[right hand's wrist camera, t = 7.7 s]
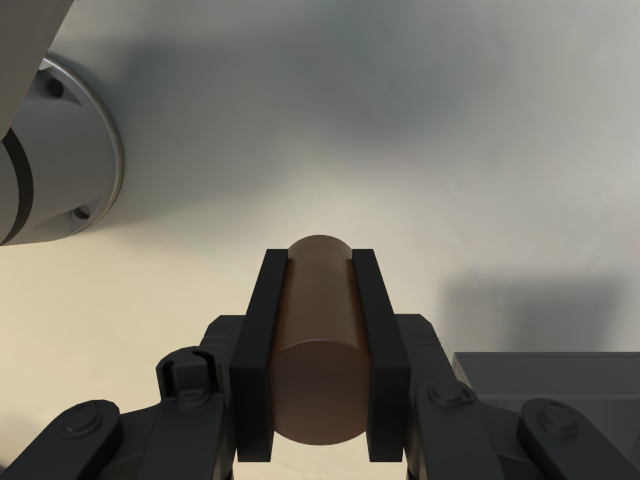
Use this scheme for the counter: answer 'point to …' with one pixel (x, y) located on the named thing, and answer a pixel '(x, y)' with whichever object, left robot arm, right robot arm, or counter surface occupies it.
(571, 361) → the tray
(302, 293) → the peg
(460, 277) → the counter surface
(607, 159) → the counter surface
